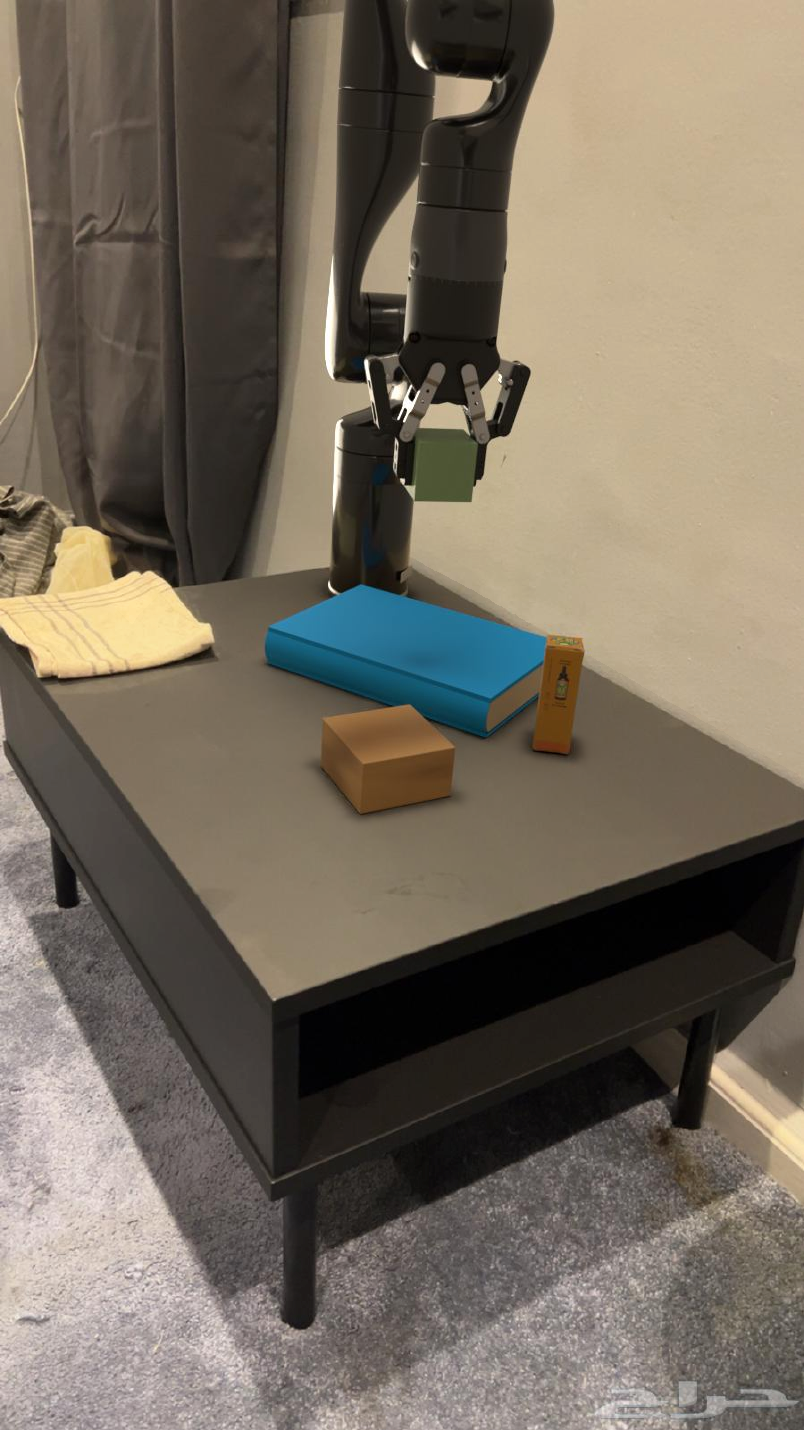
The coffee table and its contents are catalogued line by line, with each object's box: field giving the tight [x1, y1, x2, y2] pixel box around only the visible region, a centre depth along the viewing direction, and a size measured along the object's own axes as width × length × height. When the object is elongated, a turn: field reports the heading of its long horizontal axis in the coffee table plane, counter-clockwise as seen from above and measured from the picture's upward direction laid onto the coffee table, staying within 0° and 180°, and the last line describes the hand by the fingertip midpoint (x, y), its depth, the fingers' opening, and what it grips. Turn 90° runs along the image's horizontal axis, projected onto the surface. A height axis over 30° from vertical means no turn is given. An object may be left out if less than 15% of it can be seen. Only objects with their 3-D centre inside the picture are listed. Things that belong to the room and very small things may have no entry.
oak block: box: [320, 704, 456, 815], centre depth 85 cm, size 8×8×4 cm
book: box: [264, 585, 547, 739], centre depth 105 cm, size 17×4×25 cm
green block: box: [405, 427, 478, 503], centre depth 90 cm, size 5×5×5 cm
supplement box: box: [532, 634, 586, 755], centre depth 91 cm, size 3×4×10 cm
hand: (437, 482), depth 91 cm, fingers closed on green block, 5 cm apart
